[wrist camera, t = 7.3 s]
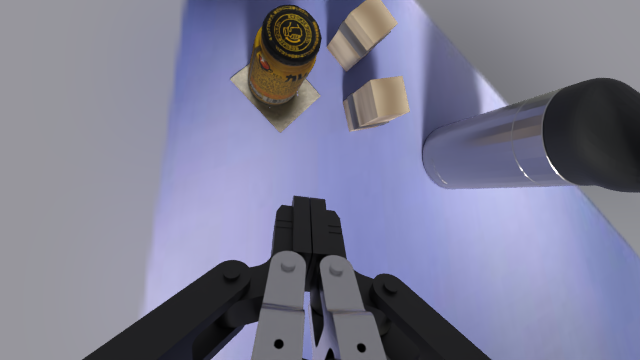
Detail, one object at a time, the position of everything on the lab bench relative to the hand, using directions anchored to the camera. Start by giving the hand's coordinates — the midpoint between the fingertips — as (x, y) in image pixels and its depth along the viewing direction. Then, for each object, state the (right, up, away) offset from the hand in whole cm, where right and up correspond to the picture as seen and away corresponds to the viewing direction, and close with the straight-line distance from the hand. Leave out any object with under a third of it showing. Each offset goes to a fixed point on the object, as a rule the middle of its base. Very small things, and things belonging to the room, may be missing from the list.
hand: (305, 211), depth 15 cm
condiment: (-5, +13, +23) cm, 27 cm away
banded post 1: (+4, +19, +26) cm, 32 cm away
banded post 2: (+6, +10, +26) cm, 29 cm away
